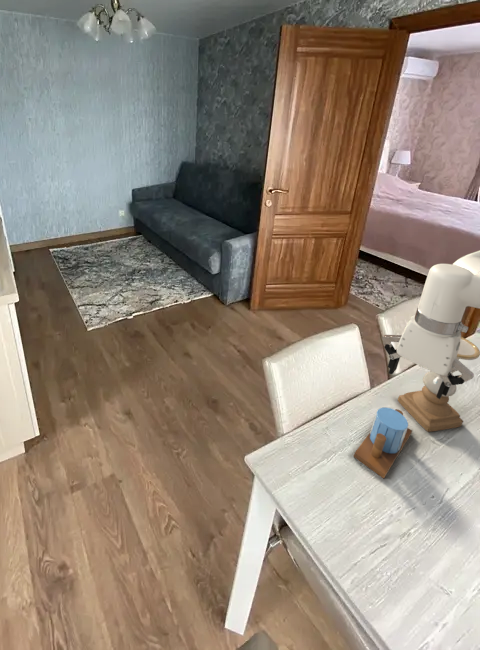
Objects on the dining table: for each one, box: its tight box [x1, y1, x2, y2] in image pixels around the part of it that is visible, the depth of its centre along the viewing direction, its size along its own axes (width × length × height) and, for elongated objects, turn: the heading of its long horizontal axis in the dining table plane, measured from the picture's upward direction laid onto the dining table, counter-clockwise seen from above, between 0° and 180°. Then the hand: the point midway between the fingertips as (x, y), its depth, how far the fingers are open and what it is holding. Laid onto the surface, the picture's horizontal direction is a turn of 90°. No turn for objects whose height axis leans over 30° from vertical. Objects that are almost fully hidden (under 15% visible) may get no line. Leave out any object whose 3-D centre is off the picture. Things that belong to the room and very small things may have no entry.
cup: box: [369, 407, 409, 454], centre depth 86 cm, size 7×7×8 cm
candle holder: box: [397, 336, 480, 433], centre depth 93 cm, size 11×11×24 cm
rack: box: [353, 408, 413, 479], centre depth 86 cm, size 18×7×8 cm, turn 130°
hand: (415, 382), depth 80 cm, fingers open, 9 cm apart
